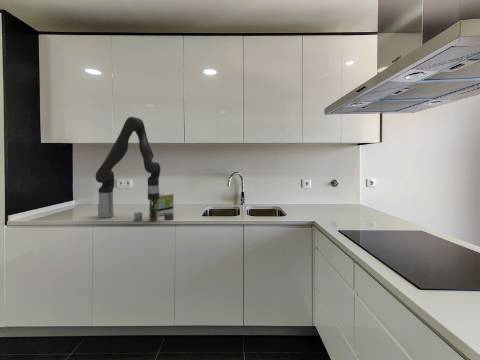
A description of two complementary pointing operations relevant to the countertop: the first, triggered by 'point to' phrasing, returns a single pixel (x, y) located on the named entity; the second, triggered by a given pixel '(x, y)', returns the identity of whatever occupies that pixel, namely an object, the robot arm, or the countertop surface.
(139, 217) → the grey egg shape
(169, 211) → the tea box
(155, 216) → the walnut block
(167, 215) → the charcoal block
